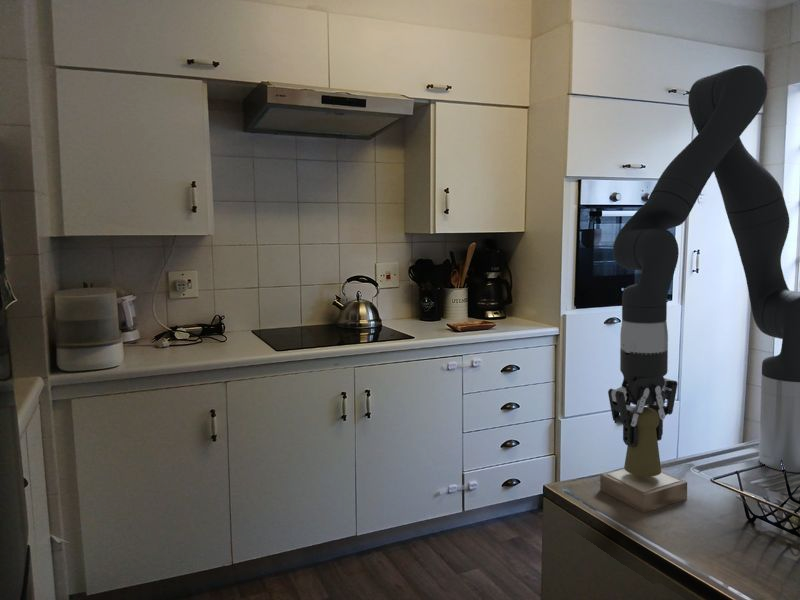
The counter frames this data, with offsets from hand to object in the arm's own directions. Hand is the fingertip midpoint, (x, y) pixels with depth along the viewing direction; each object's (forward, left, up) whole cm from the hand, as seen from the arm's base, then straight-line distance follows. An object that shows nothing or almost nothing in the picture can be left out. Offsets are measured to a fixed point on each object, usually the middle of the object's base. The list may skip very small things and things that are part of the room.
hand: (642, 442), depth 106 cm
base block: (0, 0, -10) cm, 10 cm away
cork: (0, 0, -5) cm, 5 cm away
